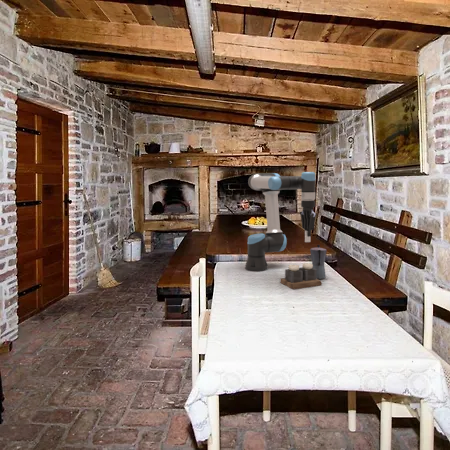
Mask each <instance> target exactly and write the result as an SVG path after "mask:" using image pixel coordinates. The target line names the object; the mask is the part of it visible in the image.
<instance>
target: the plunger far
mask: <svg viewBox="0 0 450 450" xmlns="http://www.w3.org/2000/svg"><path fill="white" fill-rule="evenodd" d="M302 267H303V268H304V269H306V270H310V269H312V268H313V264H312V262H311V263H309V262H304V263H302Z"/></svg>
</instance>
